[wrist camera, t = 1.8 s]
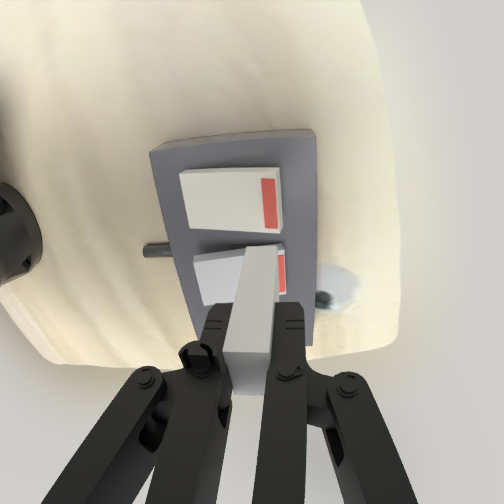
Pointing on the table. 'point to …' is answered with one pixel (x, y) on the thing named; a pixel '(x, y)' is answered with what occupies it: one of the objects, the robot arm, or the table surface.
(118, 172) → the table surface
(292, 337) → the robot arm
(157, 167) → the rocker switch panel
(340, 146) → the table surface
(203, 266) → the grey rocker
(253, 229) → the cream rocker
